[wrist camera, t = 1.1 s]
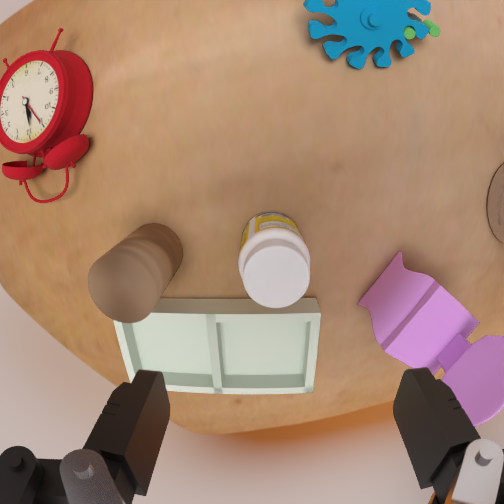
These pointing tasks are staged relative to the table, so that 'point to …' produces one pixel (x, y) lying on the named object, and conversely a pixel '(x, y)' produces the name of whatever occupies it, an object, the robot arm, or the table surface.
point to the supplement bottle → (274, 260)
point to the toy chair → (437, 337)
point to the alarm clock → (44, 112)
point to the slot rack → (225, 345)
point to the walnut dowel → (135, 273)
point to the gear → (371, 27)
